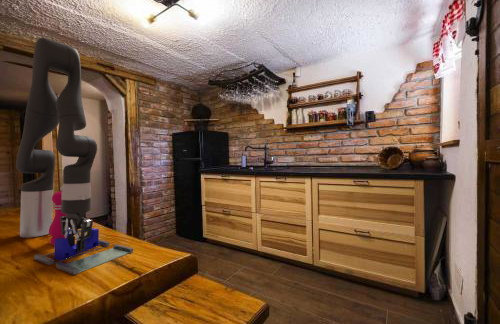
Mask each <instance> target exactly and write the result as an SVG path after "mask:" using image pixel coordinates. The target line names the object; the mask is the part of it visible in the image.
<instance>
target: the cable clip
mask: <svg viewBox="0 0 500 324" xmlns="http://www.w3.org/2000/svg"><path fill="white" fill-rule="evenodd" d="M99 231H100V229H99V228H93V227H92V230H91V236H90V238H87V239H85V250H84V251H85V252H88V251H90V250H92V249H95V248H97V247H99V244H98V240H100V238H99V233H100V232H99ZM96 246H97V247H96ZM94 247H95V248H94ZM91 248H92V249H91ZM89 249H90V250H89ZM84 251H83V252H79V253H80V254H83V253H85V252H84ZM54 252H55V253H54ZM54 252H53V253H54V254H53V256H54V257H53V259H54V260H56V259H57V260H56V261H61V260H64V259H66V258H69V257H71V256H72V257H73V256H74V255H75V256H76V255H80V254H79V253H78V252H76V243H75V245H74V246H70V245H69V243H68V239H67V238H57V239H55V245H54Z"/></svg>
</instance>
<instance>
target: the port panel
mask: <svg viewBox="0 0 500 324" xmlns="http://www.w3.org/2000/svg"><path fill="white" fill-rule="evenodd" d="M99 244H100V245H99ZM98 245H99V246H102V245H103V246H102V247H98V248H96V249H95V248H94V249H91V250H88V251H85V252H82V253H80V254H77V255H75V256H72V257H70V258H71V259H74V258H77V257H80V256H83V255H85V254H89V253H91V251H92V252H95V251H98V250H101V249H103V248H104V249H105V248H107V247H109V246H110V242H109V241H106V240H102V239H99V240H98ZM112 246H113V247H112V248H109V249H106V250H103V251H100V252H97V253H94V254H91V255H87V256H85V257H82V258H80V259H77V260H73V261H71V262H67V263H65V262H64V260H65V261H68V260H70V258H67V259H68V260H67V259H64V260H57V261H55V259H54V258H51V257H48V256H51V255H54V253H55V251H54V252H51V253H47V254H45V255H43V254H40V253H38V254H34V260H36V261H39V262H40V263H42V264H45V265H48V266H51V265H54V264H55V265H56V269H58V270H61V271H63V272H65V273H68V274H70V275H73V276H74V275H77V274H80V273H82V272H85V271H87V270H90V269H93V268H96V267H98V266H100V265H102V264H106V263H107V262H110V261H113V260H115V259H118V258H121V257H123V256H126V255H128V254H131V253H134V248H133V247H129V246H125V245H123V244H122V245H121V244H117V243H115V244H113V245H112ZM94 250H95V251H94ZM79 255H80V256H79Z"/></svg>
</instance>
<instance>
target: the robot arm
mask: <svg viewBox="0 0 500 324" xmlns="http://www.w3.org/2000/svg"><path fill="white" fill-rule="evenodd" d="M32 60H33V61H32V74H31V85H30V90H29V94H28V100H27V104H26V110H25V117H24V125H23V132H22V135H21V136H22V137H21V141H20V144H19V147H18V151H17V155H16V159H15V167H16V170H17V171H18V172H19V173H21V174H41V176H40V177H37V178H36V179H32V180H30V181H27V182H24V183H22V184H21V186H20V187H21V188H20V192H21V193H20V219H19V221H20V223H19V224H20V225H19V237H20V238H36V237H41V236H45V235H50V234H49V228H50V225H51V223H52V222H53V212H54V211H53V210H54V202H53V201H52V196H53V194H54V181H55V167H56V156H55V152H54V151H52V150H49V149H35V146H36V145H37V144H38V143H39V142H40V141H41V140H42V139H43V138H45V137H46V136H48V135H49V134H50V133H51V132H53V131H54V130H55V129H56V128H57V127H58V130H57V137H56V140H55V141H56V142H55V147H56V150H57V152H58V154H60V155H62V156H63V157H67V158H78V159H77V160H76V162H75V163H73V164H67V165H65V166H64V167H63V171H62V186H63V187H62V186H61V187H62V199H61V212H62V213H63V214H66V216H62V217H60V222H61V232H62V235H65V238H67V239H68V243H69V245H70V246H74V245H75V244H76V252H78V253H79V252H82V253H84V252H83V251H84V250H85V239H87V238H90V236H91V230H92V228H93V224H94V223H93V222H94V220H93V219H88V217H87V213H88V212H90V211H91V209H92V206H91V205H92V200H91V199H92V188H91V170H92V167H93V165H94V161H95V159H96V156H97V152H98V143H97V142H96V140H95V139H94V138H93V137H91V136H88V135H87V136H86V135H77V134H75V132H76V131H81V130H84V129H85V128H86V127H87V121H86V116H85V111H84V105H83V99H82V68H81V67H82V66H81V58H80V53H79V52H78V50H77V49H76V48H74V46H70V45H67V44H65V43H62V42H58V41H56V40H53V39H50V38H46V37H39V38H38V39H37V40H36V42H35V45H34V50H33V59H32ZM50 70H51V71H55V72H59V73H63V74H66V75H67V83H66V85H65V87H64V88H63V89H62V91H61V92H60V93H59V95H58V97H57V95H56V92H54V89H53V88H52V85H51V84H50V80H49V71H50Z"/></svg>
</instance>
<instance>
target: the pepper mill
mask: <svg viewBox="0 0 500 324" xmlns="http://www.w3.org/2000/svg"><path fill="white" fill-rule="evenodd" d="M62 187H63V185H62V186H60V188H59V190H58V191H56V192H55V193H54V192H53V196H52V201H53V210H54V218H53V219H52V223H51V225H50V228H49V234H48V235H50V236H51V238H50V239H49V243H50V245H52V246H55V239H57V238H65V235H62V232H61V222H60V217H62V216H66V214H63V213H62V212H61V199H62Z"/></svg>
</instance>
